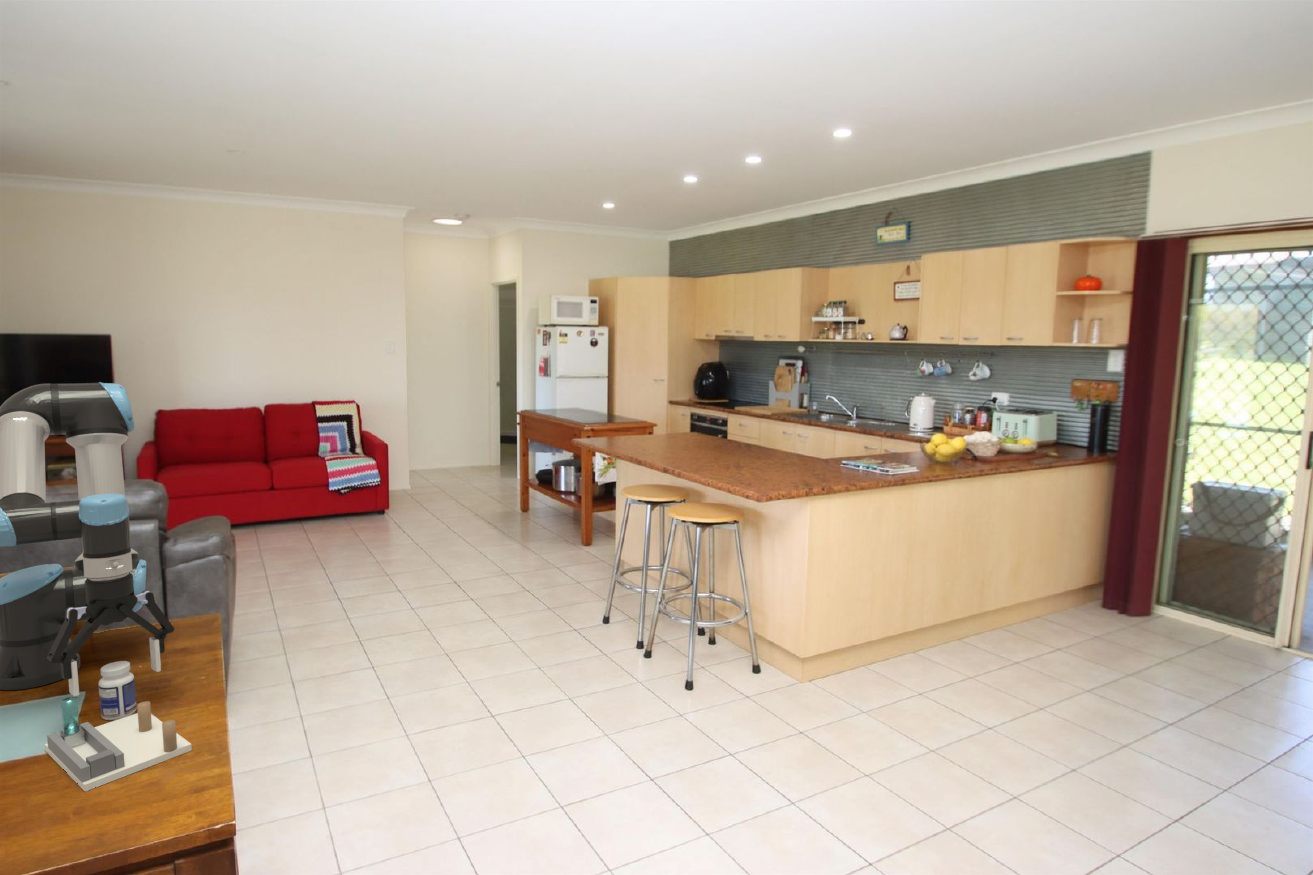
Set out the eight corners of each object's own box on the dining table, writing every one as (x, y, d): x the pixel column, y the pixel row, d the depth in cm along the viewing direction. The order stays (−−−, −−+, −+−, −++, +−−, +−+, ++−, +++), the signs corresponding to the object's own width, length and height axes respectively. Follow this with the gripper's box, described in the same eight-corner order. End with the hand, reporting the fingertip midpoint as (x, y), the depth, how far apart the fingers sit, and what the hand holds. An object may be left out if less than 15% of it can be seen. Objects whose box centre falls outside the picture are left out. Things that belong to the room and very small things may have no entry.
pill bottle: (131, 704, 152) (128, 656, 150) (141, 713, 148) (137, 665, 147) (97, 714, 147) (93, 666, 146) (106, 724, 144) (102, 674, 142)
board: (45, 750, 134) (42, 717, 133) (146, 715, 147) (144, 685, 146) (84, 791, 122) (82, 755, 122) (191, 750, 135) (189, 717, 134)
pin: (60, 744, 134) (56, 700, 133) (79, 738, 136) (75, 694, 135) (65, 750, 132) (62, 704, 131) (84, 743, 134) (81, 699, 133)
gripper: (33, 595, 132) (43, 710, 134) (188, 564, 152) (194, 665, 154) (20, 587, 136) (30, 699, 139) (172, 558, 156) (179, 656, 158)
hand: (116, 681), depth 146 cm, fingers open, 13 cm apart
